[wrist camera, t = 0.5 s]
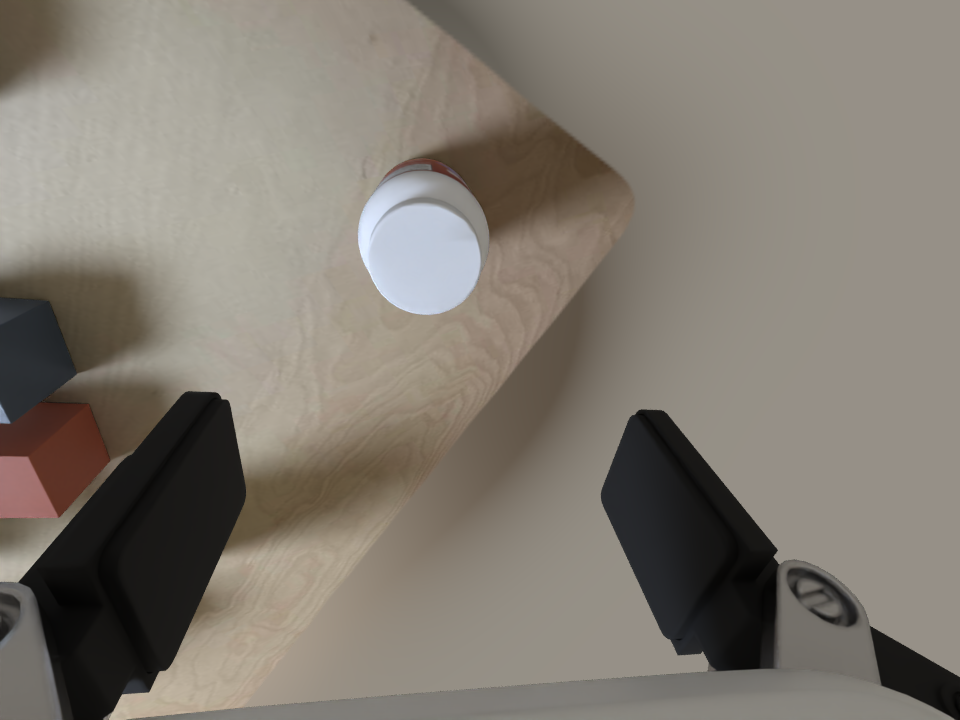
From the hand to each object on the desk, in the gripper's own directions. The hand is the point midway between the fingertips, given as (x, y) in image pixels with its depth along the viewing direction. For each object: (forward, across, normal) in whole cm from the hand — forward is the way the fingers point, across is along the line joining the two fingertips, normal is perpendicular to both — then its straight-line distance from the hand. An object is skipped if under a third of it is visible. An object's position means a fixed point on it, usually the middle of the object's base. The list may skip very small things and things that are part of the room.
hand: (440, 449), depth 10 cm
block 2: (+20, +26, +17) cm, 37 cm away
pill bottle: (+20, 0, -2) cm, 21 cm away
